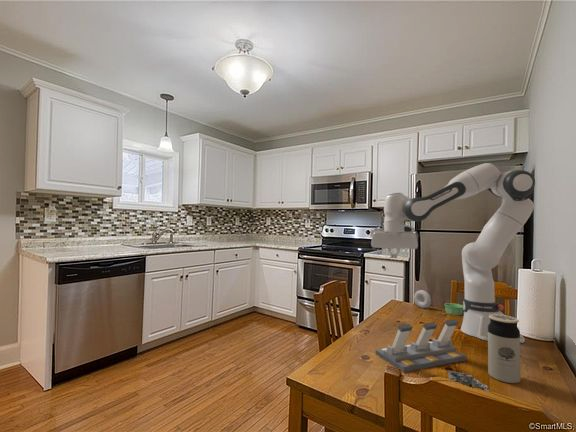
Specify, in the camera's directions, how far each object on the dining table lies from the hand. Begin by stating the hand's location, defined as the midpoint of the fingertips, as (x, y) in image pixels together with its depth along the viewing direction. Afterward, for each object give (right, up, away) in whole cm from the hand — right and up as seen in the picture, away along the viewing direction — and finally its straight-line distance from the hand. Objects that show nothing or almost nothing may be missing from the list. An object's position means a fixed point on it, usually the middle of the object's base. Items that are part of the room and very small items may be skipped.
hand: (393, 258), depth 138 cm
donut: (+27, -33, +31) cm, 53 cm away
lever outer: (-12, -26, -37) cm, 46 cm away
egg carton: (+1, -30, -55) cm, 63 cm away
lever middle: (-3, -26, -33) cm, 42 cm away
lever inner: (+7, -26, -30) cm, 40 cm away
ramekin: (+40, -33, +22) cm, 56 cm away
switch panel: (-3, -30, -33) cm, 45 cm away
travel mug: (+17, -30, -47) cm, 58 cm away
